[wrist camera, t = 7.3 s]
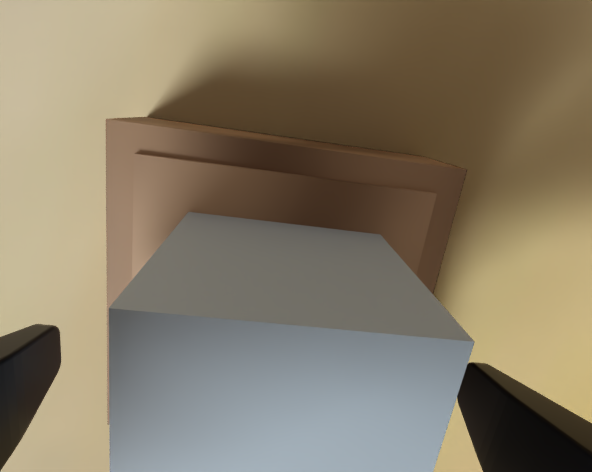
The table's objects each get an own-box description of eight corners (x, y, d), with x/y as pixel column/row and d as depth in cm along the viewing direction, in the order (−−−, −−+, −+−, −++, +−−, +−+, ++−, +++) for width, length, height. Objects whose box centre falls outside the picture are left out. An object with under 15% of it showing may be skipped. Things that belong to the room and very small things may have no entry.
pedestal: (423, 156, 13) (469, 170, 10) (370, 382, 15) (393, 447, 12) (145, 116, 12) (103, 118, 9) (139, 363, 15) (105, 428, 12)
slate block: (380, 234, 10) (474, 341, 5) (346, 390, 12) (398, 581, 7) (188, 211, 10) (108, 308, 5) (179, 377, 11) (110, 573, 6)
